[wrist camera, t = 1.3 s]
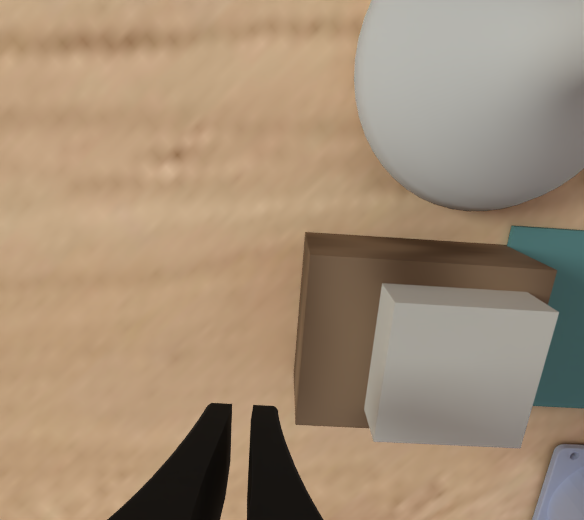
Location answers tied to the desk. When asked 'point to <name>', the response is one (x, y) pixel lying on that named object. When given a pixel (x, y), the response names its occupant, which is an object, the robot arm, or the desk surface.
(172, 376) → the desk surface
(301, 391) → the block
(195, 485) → the robot arm
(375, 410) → the tile
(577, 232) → the mat
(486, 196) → the flower in vase
